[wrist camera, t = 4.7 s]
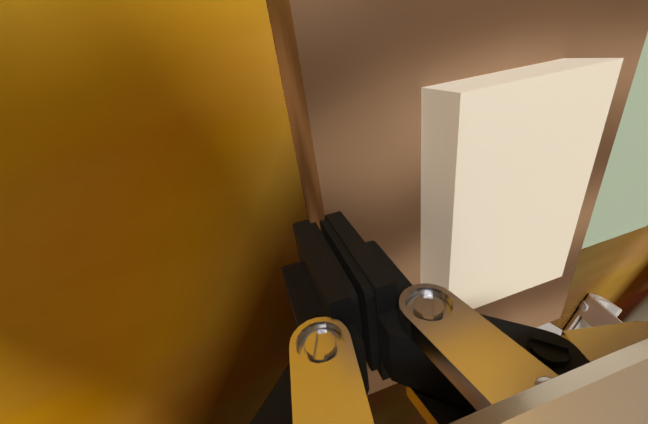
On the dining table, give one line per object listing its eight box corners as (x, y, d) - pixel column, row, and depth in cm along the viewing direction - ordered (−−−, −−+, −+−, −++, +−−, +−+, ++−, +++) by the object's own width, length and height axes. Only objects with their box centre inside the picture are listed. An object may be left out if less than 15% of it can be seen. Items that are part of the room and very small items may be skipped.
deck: (244, -112, 10) (256, -200, 7) (584, -133, 13) (719, -204, 9) (332, 343, 20) (355, 400, 17) (509, 279, 23) (560, 318, 20)
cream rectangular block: (421, 87, 10) (460, 93, 9) (564, 58, 12) (623, 57, 10) (420, 288, 15) (446, 318, 13) (524, 252, 16) (561, 276, 14)
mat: (588, -101, 13) (597, -105, 13) (776, -118, 16) (789, -121, 15) (517, 266, 23) (522, 270, 22) (641, 223, 25) (647, 225, 25)
